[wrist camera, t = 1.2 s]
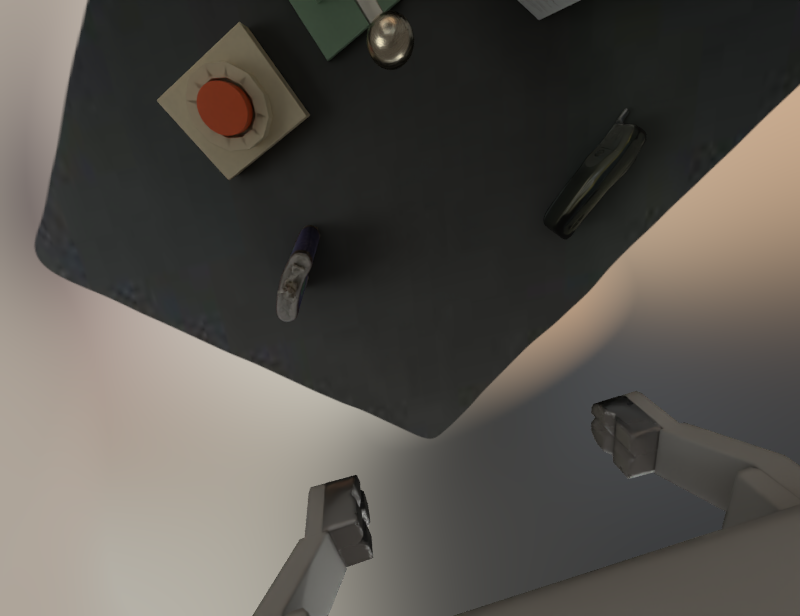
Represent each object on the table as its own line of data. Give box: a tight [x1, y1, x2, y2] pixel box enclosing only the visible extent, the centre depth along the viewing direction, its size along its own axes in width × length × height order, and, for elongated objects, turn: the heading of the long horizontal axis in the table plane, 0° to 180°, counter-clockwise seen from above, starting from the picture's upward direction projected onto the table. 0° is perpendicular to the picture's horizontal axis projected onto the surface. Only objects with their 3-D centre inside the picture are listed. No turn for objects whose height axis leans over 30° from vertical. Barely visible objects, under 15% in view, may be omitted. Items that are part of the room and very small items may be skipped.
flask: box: [276, 225, 320, 322], centre depth 41 cm, size 9×3×11 cm, turn 159°
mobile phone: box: [544, 109, 646, 239], centre depth 42 cm, size 5×3×15 cm
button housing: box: [157, 22, 310, 180], centre depth 35 cm, size 11×9×4 cm
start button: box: [197, 81, 253, 136], centre depth 33 cm, size 4×4×2 cm
